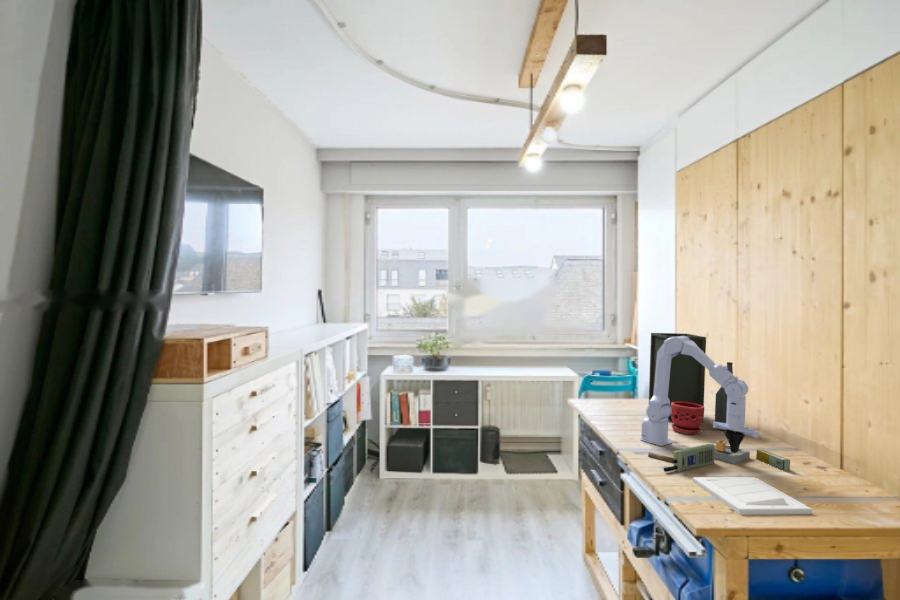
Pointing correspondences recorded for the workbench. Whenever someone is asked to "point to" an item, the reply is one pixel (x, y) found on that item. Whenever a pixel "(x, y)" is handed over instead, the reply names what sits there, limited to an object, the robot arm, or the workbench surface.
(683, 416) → the plant pot
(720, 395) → the bottle
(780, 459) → the medication box
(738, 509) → the vent cover
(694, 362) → the tall dark green cabinet
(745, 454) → the box
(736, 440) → the robot arm
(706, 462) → the handheld radio
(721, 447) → the breaker
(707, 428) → the workbench surface
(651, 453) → the wooden dowel
